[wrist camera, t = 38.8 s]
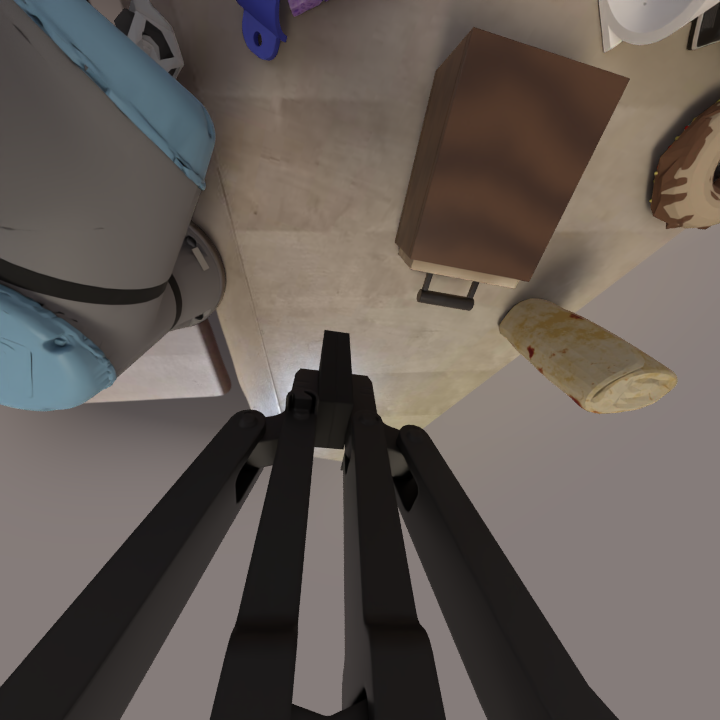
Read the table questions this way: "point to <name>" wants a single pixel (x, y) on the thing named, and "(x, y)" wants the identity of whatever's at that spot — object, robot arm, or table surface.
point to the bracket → (262, 27)
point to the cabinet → (501, 154)
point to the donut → (690, 175)
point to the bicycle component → (151, 34)
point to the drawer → (476, 277)
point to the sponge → (302, 5)
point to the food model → (585, 358)
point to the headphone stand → (646, 19)
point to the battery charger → (705, 29)
